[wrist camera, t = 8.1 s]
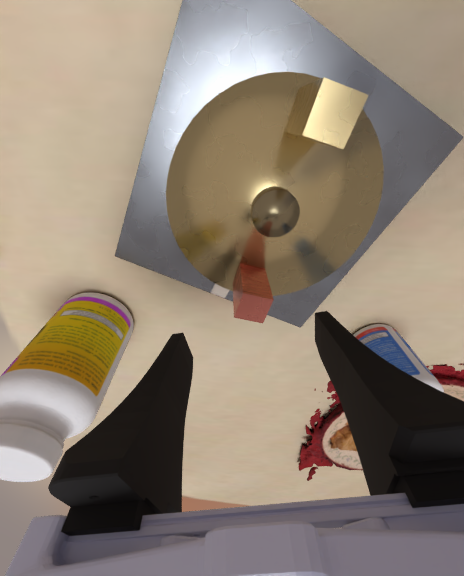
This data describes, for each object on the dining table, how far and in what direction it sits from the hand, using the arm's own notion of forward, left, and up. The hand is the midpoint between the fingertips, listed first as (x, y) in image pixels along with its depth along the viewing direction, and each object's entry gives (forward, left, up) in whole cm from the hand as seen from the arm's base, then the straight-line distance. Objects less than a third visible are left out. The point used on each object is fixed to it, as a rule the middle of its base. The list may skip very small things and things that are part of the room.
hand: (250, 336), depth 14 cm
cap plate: (-5, -1, -9) cm, 11 cm away
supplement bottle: (+12, -10, -10) cm, 18 cm away
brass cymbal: (-5, -1, -8) cm, 10 cm away
